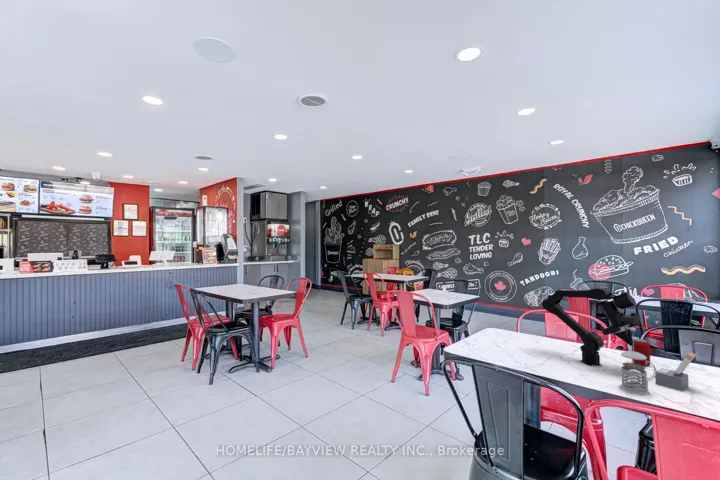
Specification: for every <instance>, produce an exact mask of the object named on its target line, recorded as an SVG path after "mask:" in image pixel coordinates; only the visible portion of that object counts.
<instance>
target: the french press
mask: <svg viewBox="0 0 720 480" xmlns="http://www.w3.org/2000/svg"><path fill="white" fill-rule="evenodd" d="M630 330H631V331H632V339H633V351H632V350H628V351H627V350H626V351H623V352H621V353H620V356H621V357H623V358H626V359H630V360H632V359H633V361H632V362H622V366H621V384H620V385H618V388H619V389H620V390H622V391H623V392H626V393H629V394H633V395H637V396H651V392H650V391H649V389H648V388H649V385H648V384H649V383H648V382H649V381H653V380H654V379H655V377H656V374H657V372H656V371H657V369H656V366H655V365H654V364H653V363H652V362H651V361H650V362H649V361H648V362H649V363H650V365H652V367H653V370H654V373H653V375H652V376H651V377H647V375H648V373H647V371H646V366H641V365H638V364H635V363H634V359H635V360H646V359H647V357H646V356H644V355H643V354H640V353H638V352H635V351H634V339H635V337H634V336H635V335H634V332H636V331H637V328H636V327H630ZM646 361H647V360H646ZM646 361H645V364H646V365H647V362H646Z"/></svg>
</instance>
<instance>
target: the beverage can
mask: <svg viewBox="0 0 720 480" xmlns="http://www.w3.org/2000/svg"><path fill="white" fill-rule="evenodd" d="M631 351H633V346H631ZM634 351H635V352H638V353H640V354H643V355H644V356H646V357H647V359H646V360H647V361H646V360H635V359H634V364H638V365H641V366H644V367H648V366H650V365H651V364H650V363H649V362H651V345H650V342H649V340H646V339H642V338H634ZM631 360H632V362H633V359H631ZM645 361H646V362H647V365H646V364H645ZM648 361H649V362H648Z"/></svg>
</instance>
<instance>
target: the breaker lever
mask: <svg viewBox="0 0 720 480" xmlns="http://www.w3.org/2000/svg"><path fill="white" fill-rule="evenodd" d="M696 356H697V354H696V353H694V352H692V351H689V352H688V353H687V354H686V355H685V356H684V358H683V360H682V361H681V362H680V363H679V365H678V366H677V368H676V369H675V370H674V371H675V373H677V374H680V373H682V372H683V373H684V371H685V370H686V368H688V366H689V365H690V363H691V362H692V360H693V359H695V357H696Z"/></svg>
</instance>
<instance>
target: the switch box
mask: <svg viewBox="0 0 720 480" xmlns="http://www.w3.org/2000/svg"><path fill="white" fill-rule="evenodd" d="M655 372H657V374H656V377H655V378H654V379H655V385H658V386H661V387H665V388H668V389H673V390H676V391H680V392H682V391H684V390H686V389H687V388H688V387H689V384H690V383H689V374H688V373H684V371H683V372H682V373H680V374H677V373H675V370H672V369H668V368H663V367H662V368H660V369H658V370H655Z"/></svg>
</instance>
